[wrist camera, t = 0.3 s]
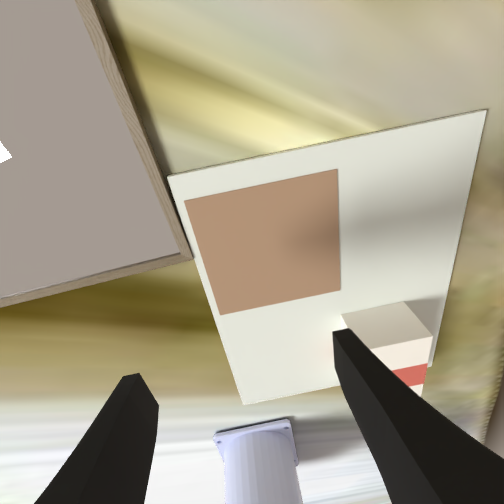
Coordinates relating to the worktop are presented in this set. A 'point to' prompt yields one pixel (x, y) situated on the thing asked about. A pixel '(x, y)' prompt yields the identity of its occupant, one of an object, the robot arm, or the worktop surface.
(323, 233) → the mat
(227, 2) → the worktop surface
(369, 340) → the card box
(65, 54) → the picture frame
